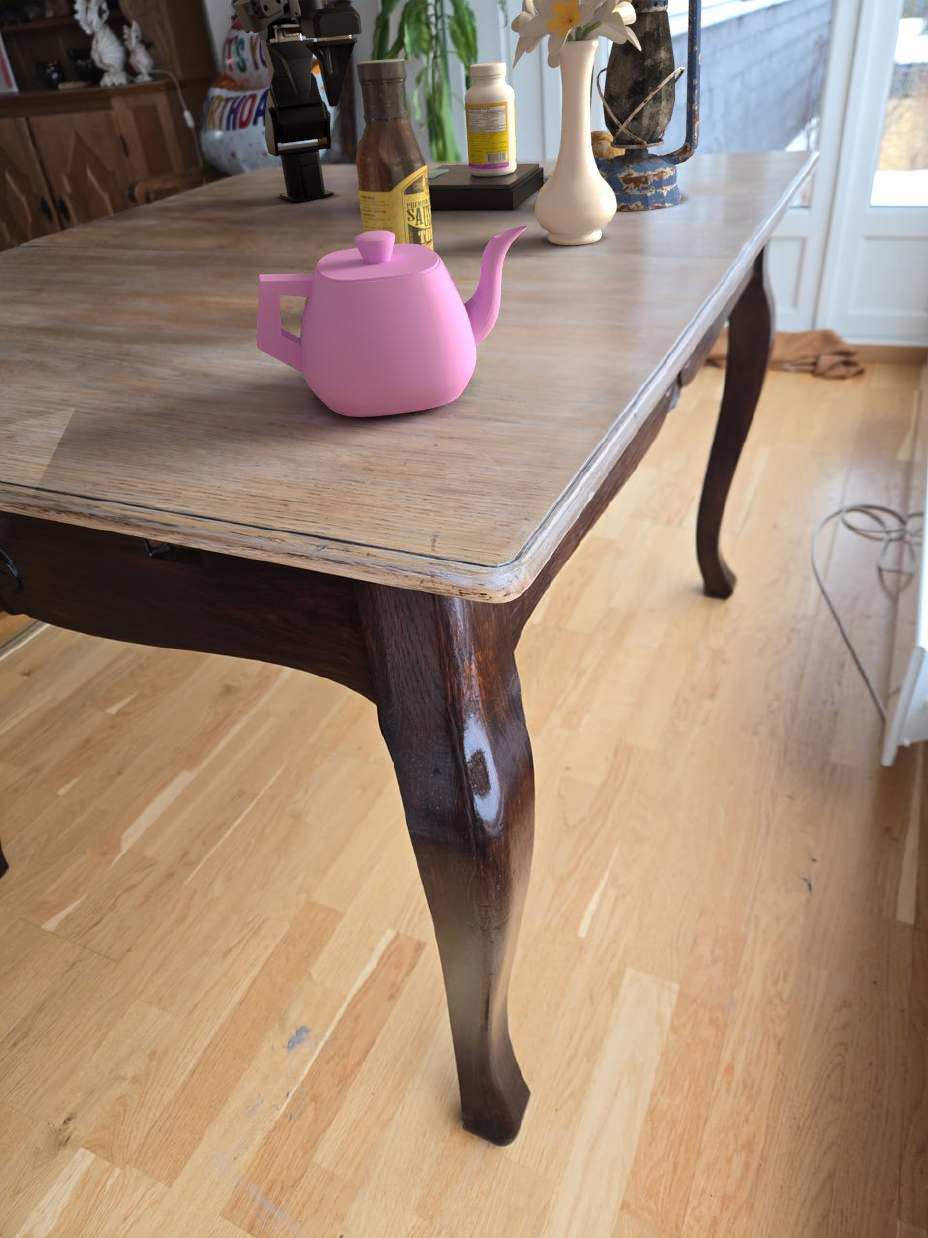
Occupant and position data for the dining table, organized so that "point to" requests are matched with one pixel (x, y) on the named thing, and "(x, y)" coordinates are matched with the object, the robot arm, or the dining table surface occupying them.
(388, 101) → the sauce bottle
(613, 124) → the lantern
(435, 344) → the teapot
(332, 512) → the dining table surface
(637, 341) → the dining table surface
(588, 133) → the flower vase
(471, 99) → the supplement bottle
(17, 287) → the dining table surface
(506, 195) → the kitchen scale
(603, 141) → the bread roll
